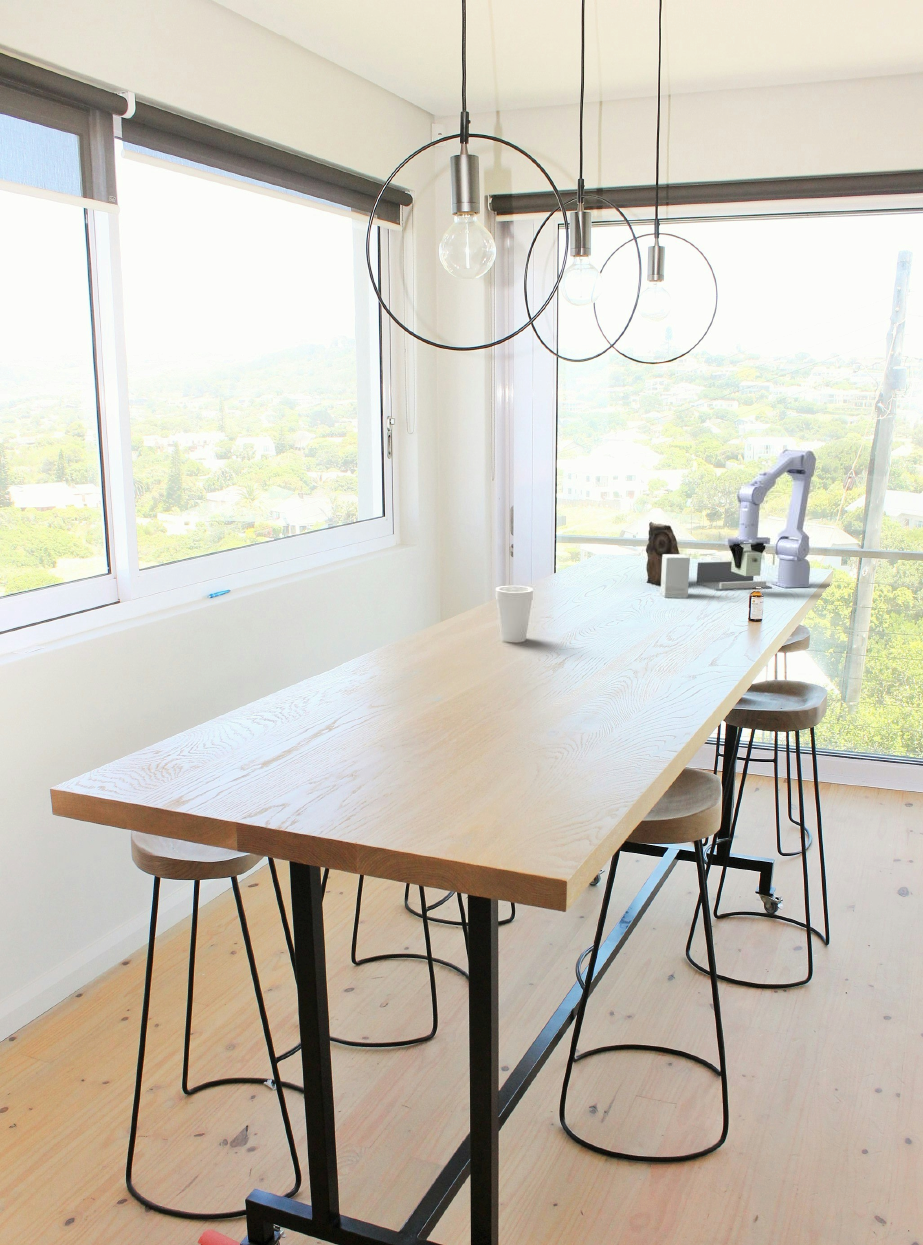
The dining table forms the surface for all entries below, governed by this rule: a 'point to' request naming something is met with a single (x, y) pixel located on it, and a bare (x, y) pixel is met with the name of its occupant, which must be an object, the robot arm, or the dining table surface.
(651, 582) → the owl
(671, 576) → the supplement box
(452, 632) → the dining table surface
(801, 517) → the robot arm
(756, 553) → the cabinet block
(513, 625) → the foam cup
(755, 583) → the grey piece
